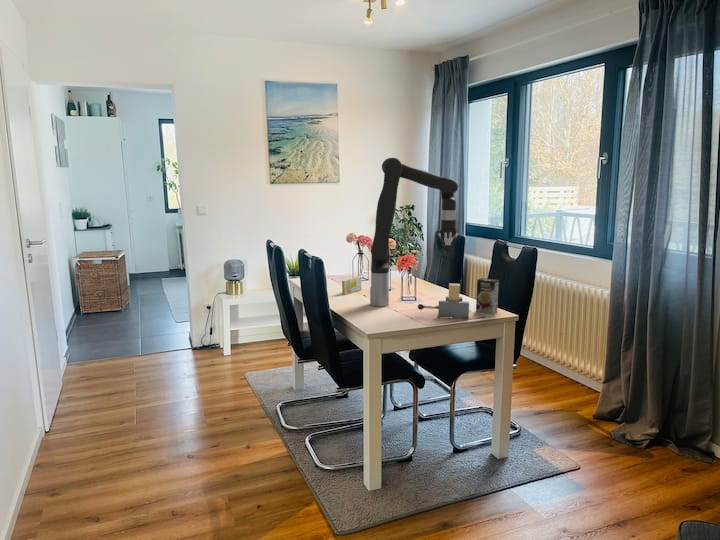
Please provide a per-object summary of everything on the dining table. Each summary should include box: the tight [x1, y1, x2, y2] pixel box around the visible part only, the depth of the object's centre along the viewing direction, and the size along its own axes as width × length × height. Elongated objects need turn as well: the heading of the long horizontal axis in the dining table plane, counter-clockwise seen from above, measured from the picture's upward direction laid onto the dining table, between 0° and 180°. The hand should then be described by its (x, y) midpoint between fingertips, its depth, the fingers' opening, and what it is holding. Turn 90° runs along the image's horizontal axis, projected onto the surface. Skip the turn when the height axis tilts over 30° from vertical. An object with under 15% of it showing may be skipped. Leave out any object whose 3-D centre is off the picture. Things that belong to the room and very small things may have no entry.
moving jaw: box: [445, 296, 463, 302], centre depth 263 cm, size 8×4×8 cm, turn 80°
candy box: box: [341, 276, 362, 296], centre depth 310 cm, size 16×2×8 cm, turn 144°
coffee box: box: [475, 277, 500, 315], centre depth 264 cm, size 9×6×16 cm
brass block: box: [448, 283, 461, 301], centre depth 258 cm, size 5×5×15 cm
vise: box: [417, 300, 470, 320], centre depth 261 cm, size 24×15×8 cm, turn 80°
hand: (447, 252), depth 279 cm, fingers closed
